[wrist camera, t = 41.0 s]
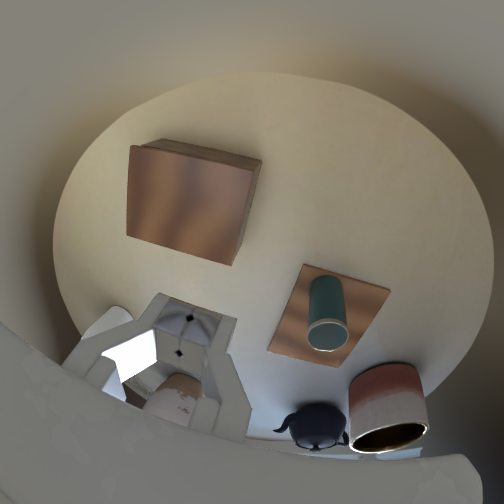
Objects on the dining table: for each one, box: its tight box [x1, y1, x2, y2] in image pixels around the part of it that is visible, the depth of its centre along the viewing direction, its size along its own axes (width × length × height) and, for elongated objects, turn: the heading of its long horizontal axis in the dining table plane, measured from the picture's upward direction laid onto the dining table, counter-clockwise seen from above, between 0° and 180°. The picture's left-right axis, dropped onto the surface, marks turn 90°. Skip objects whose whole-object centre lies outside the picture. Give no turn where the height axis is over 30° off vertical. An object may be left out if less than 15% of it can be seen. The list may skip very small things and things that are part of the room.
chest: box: [141, 139, 262, 261], centre depth 38 cm, size 16×14×6 cm
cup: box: [81, 306, 133, 341], centre depth 55 cm, size 9×9×12 cm
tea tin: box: [306, 275, 349, 351], centre depth 40 cm, size 6×6×11 cm
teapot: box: [273, 405, 349, 452], centre depth 61 cm, size 25×16×12 cm, turn 61°
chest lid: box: [127, 145, 254, 266], centre depth 35 cm, size 16×14×1 cm
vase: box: [142, 374, 205, 427], centre depth 59 cm, size 16×16×23 cm
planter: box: [348, 363, 429, 453], centre depth 49 cm, size 18×18×16 cm
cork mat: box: [268, 264, 391, 368], centre depth 49 cm, size 22×16×1 cm
